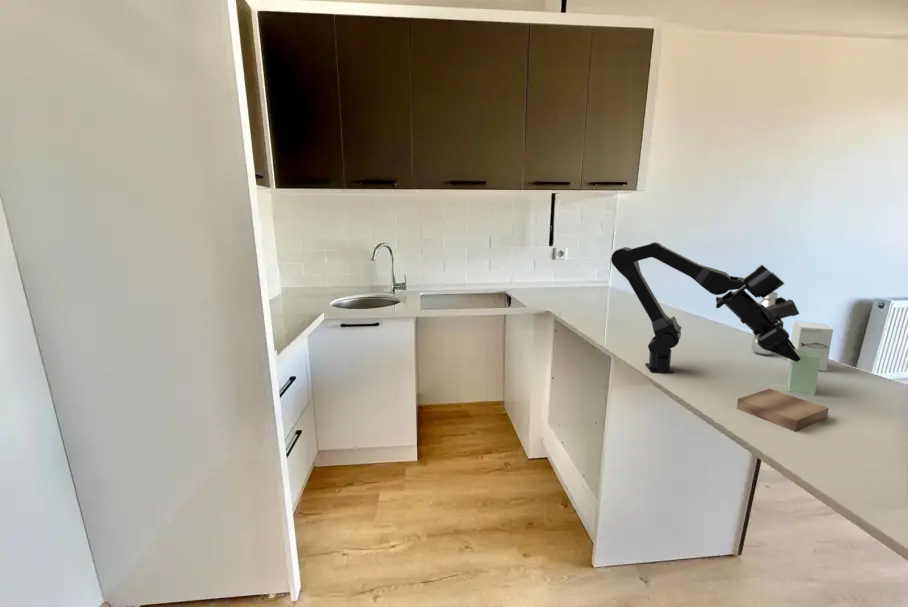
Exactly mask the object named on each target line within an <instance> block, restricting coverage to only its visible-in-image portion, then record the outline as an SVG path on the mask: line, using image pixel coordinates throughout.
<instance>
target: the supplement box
mask: <svg viewBox="0 0 908 607" xmlns="http://www.w3.org/2000/svg"><path fill="white" fill-rule="evenodd" d="M833 331H834V328H832V327H831V326H830V325H828V324H827V323H824V322H822V323H821V322H807V321H795V320H794V321H793V324H792V333H791V339H790V341H791V342H792V344H793V345H794V347H795V348H796V349H798V350H807V351H817V353H818V354H819V356H820V364H819V370H818V372H819V371H821V372H827V369H828V365H829V364H828V363H829V357H830V352H831V351H830V349H831V344H832V338H833ZM788 362H789V363H790V359H789V358H788Z"/></svg>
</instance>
